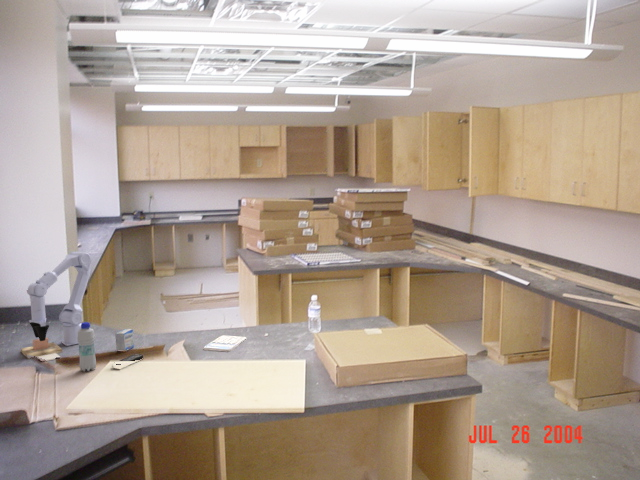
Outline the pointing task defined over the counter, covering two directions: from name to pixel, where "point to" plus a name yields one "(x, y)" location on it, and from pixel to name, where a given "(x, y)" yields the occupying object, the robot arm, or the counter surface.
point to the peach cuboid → (40, 344)
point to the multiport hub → (132, 358)
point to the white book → (224, 343)
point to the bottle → (86, 347)
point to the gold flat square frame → (41, 350)
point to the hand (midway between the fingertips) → (40, 338)
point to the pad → (49, 356)
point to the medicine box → (124, 339)
